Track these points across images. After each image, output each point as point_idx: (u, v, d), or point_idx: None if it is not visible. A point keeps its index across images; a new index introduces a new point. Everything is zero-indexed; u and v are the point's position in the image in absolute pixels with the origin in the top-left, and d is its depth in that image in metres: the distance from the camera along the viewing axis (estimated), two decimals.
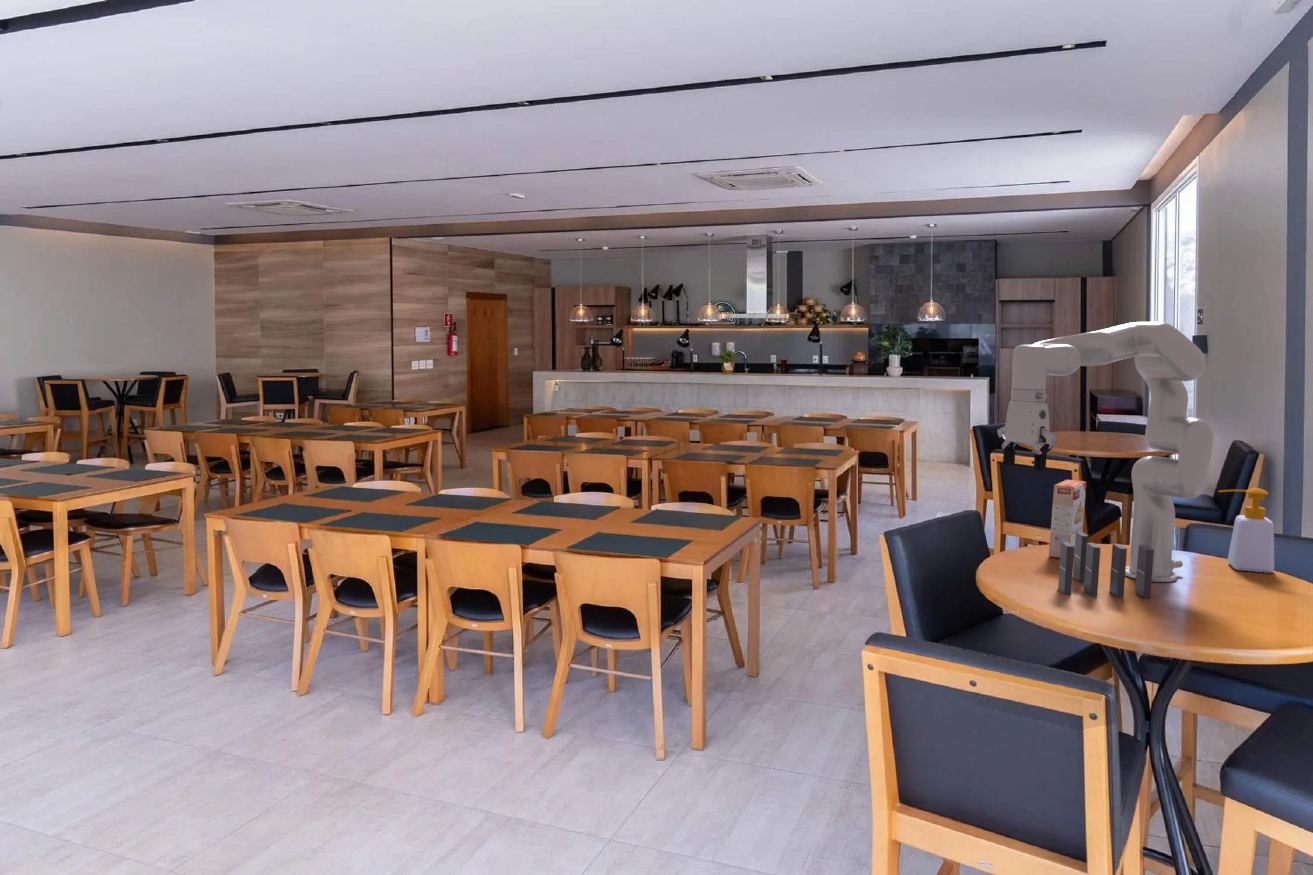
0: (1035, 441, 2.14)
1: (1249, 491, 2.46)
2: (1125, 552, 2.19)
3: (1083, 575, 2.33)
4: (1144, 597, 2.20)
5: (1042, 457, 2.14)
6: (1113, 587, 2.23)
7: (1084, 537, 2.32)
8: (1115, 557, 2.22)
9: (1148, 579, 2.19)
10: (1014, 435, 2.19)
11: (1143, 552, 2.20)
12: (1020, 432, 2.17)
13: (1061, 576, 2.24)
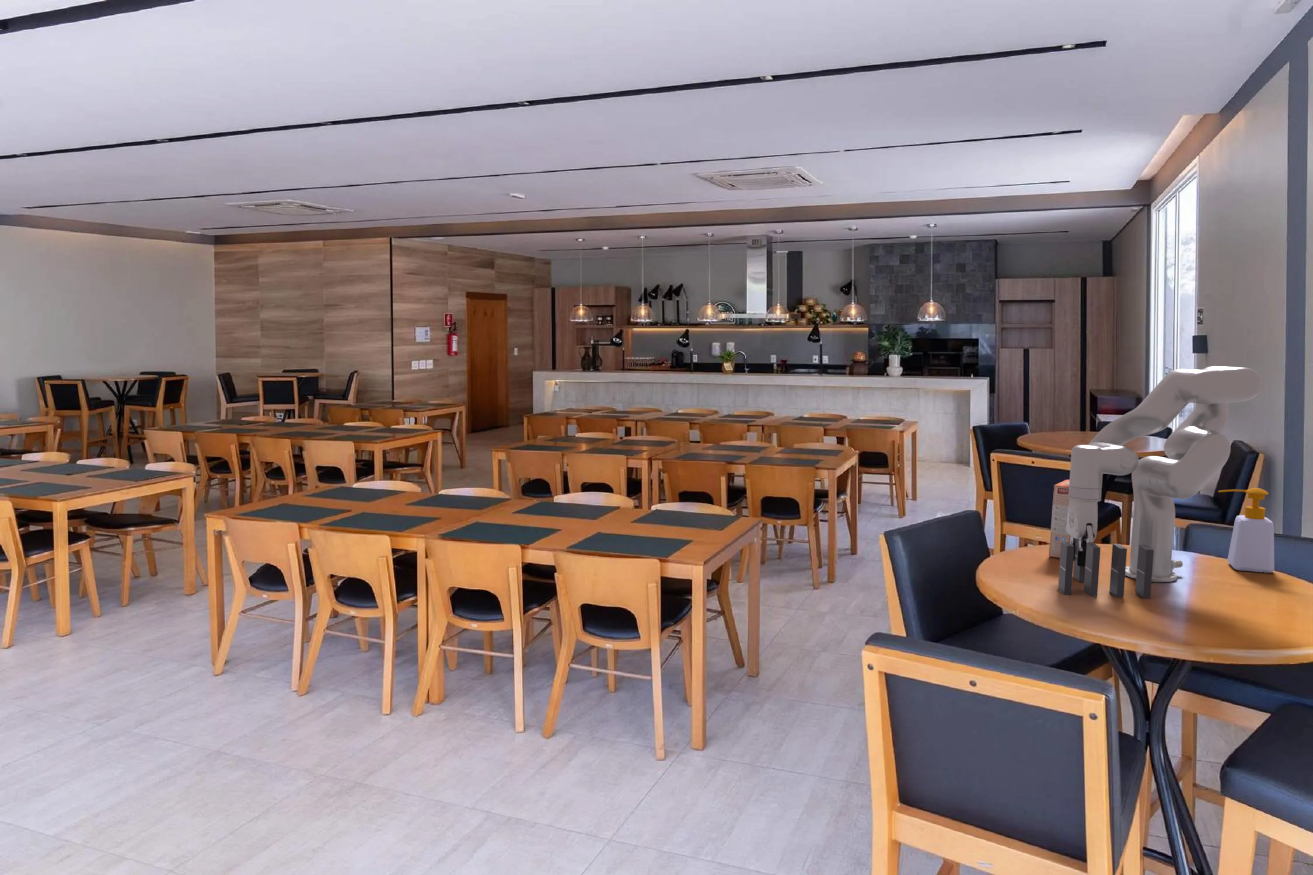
0: None
1: (1249, 491, 2.46)
2: (1125, 552, 2.19)
3: (1083, 575, 2.33)
4: (1144, 597, 2.20)
5: None
6: (1113, 587, 2.23)
7: (1084, 537, 2.32)
8: (1115, 557, 2.22)
9: (1148, 579, 2.19)
10: None
11: (1143, 552, 2.20)
12: None
13: (1061, 576, 2.24)
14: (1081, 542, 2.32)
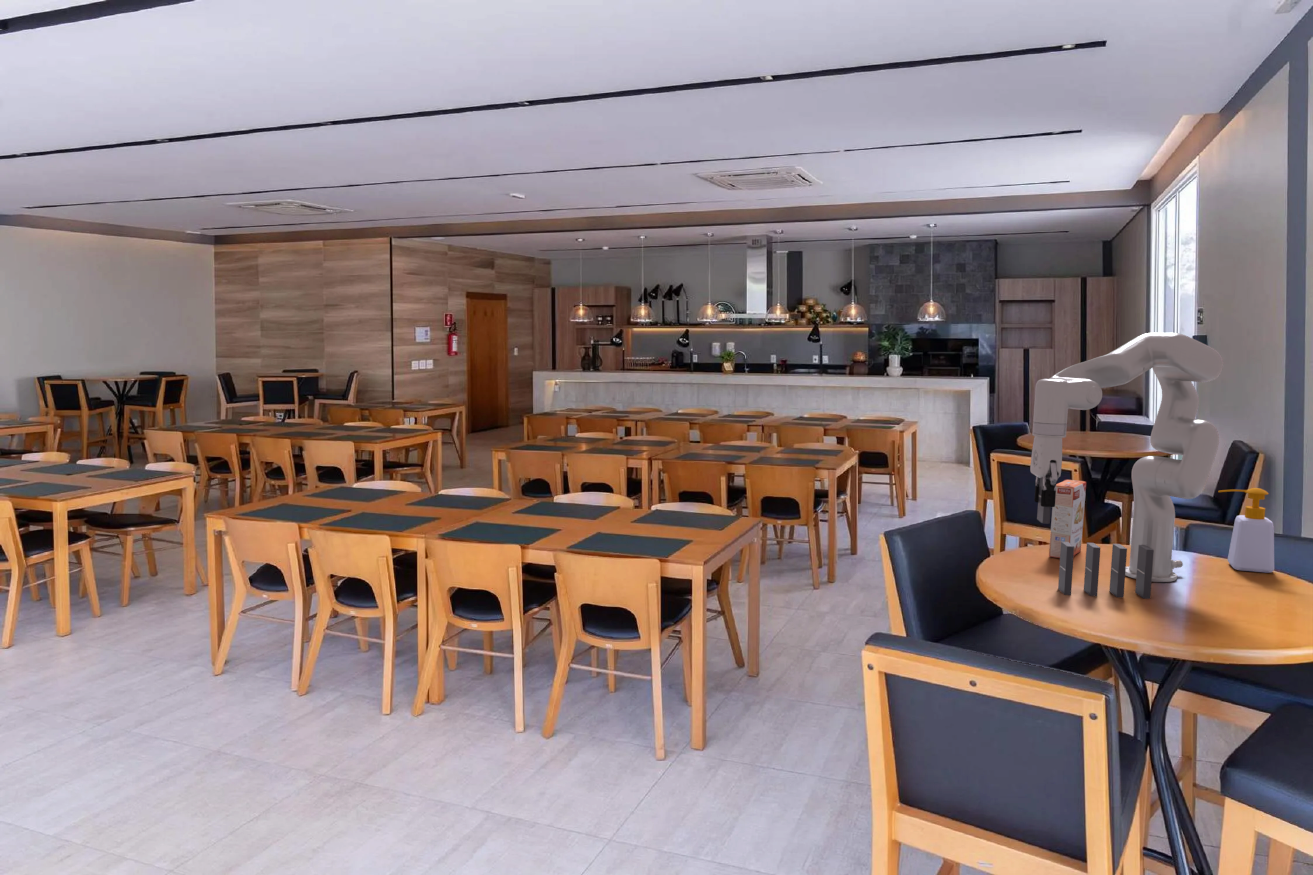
0: None
1: (1249, 491, 2.46)
2: (1125, 552, 2.19)
3: (1047, 516, 2.21)
4: (1144, 597, 2.20)
5: None
6: (1113, 587, 2.23)
7: (1048, 475, 2.20)
8: (1115, 557, 2.22)
9: (1148, 579, 2.19)
10: None
11: (1143, 552, 2.20)
12: None
13: (1061, 576, 2.24)
14: (1045, 481, 2.19)
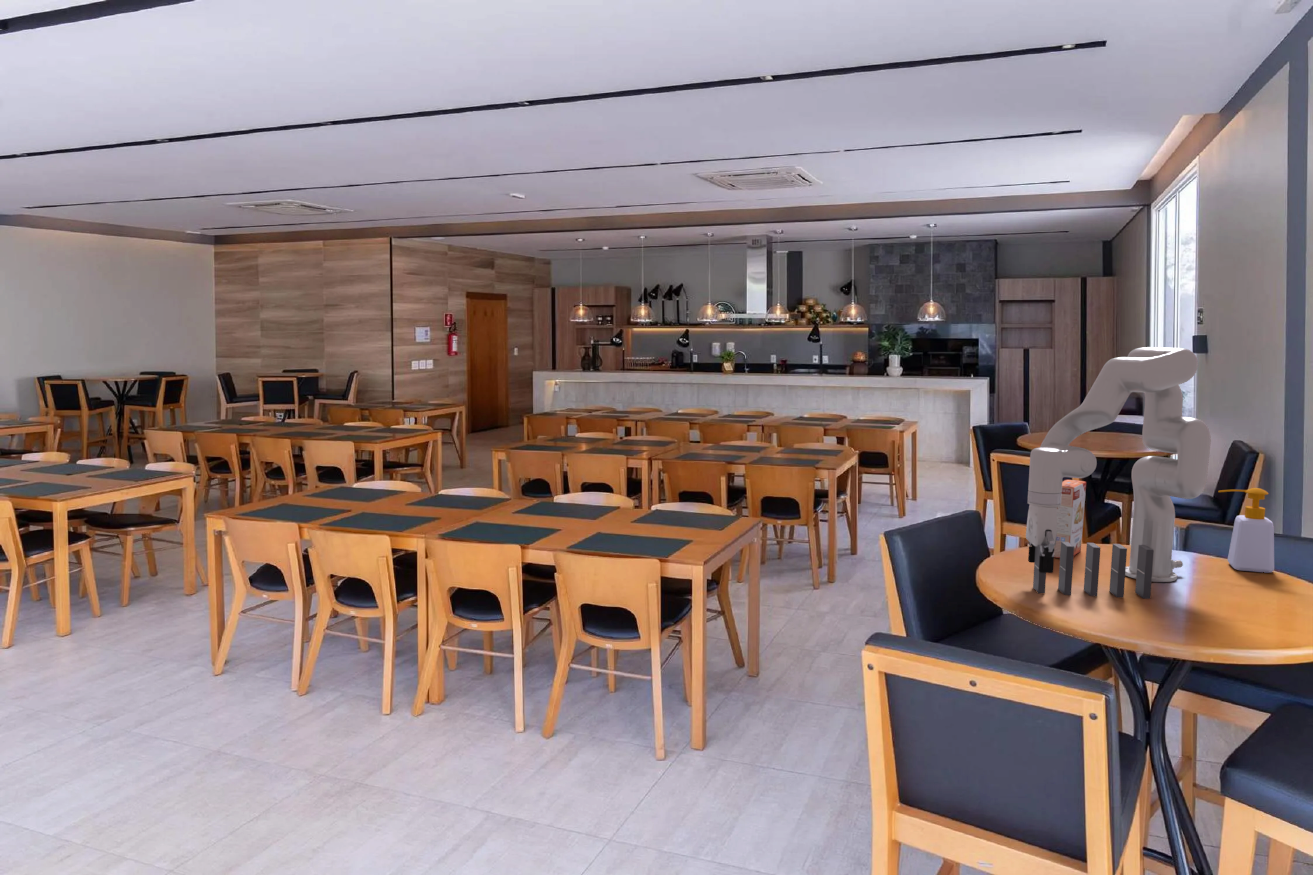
0: None
1: (1249, 491, 2.46)
2: (1125, 552, 2.19)
3: (1042, 586, 2.23)
4: (1144, 597, 2.20)
5: None
6: (1113, 587, 2.23)
7: None
8: (1115, 557, 2.22)
9: (1148, 579, 2.19)
10: None
11: (1143, 552, 2.20)
12: None
13: (1061, 576, 2.24)
14: (1042, 547, 2.19)
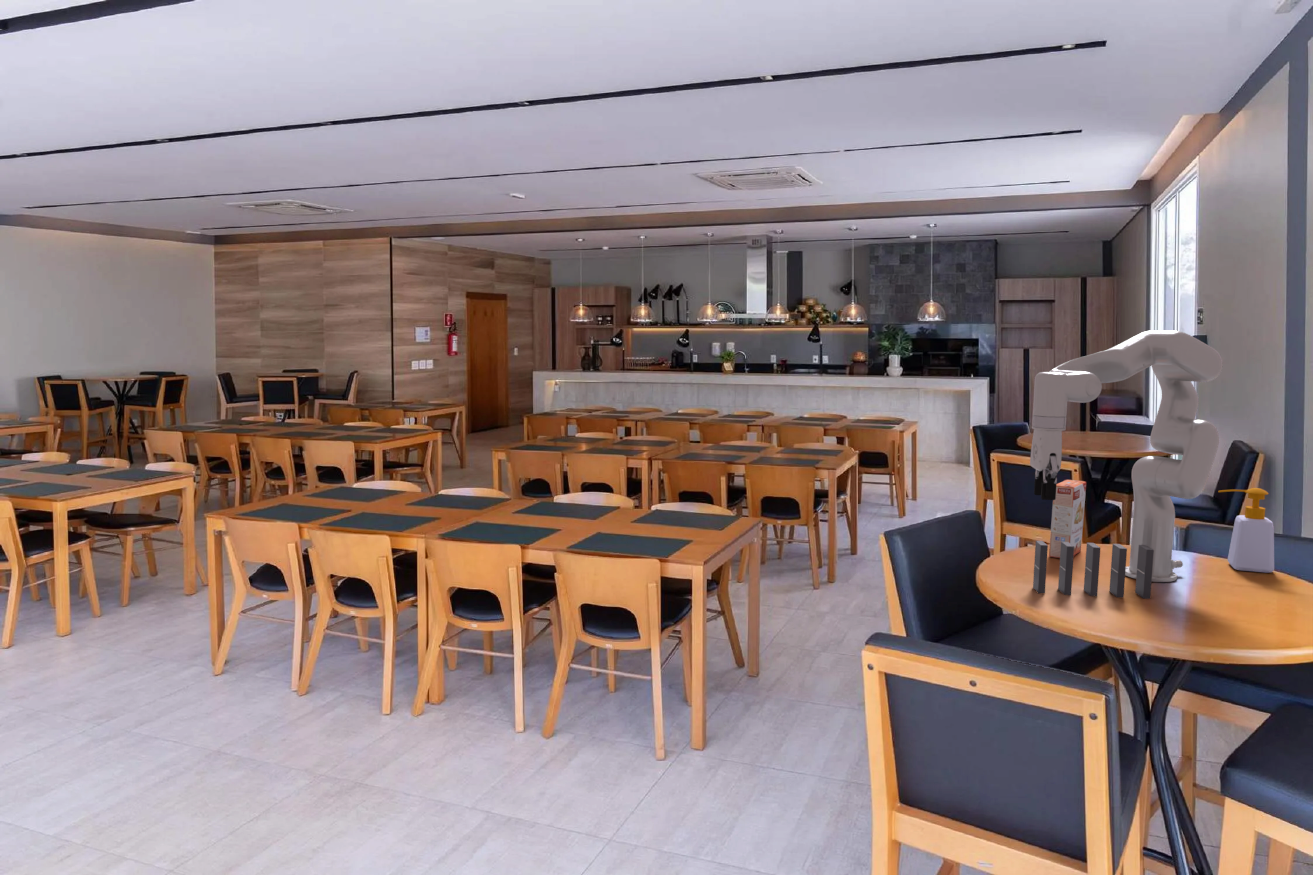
0: None
1: (1249, 491, 2.46)
2: (1125, 552, 2.19)
3: (1042, 586, 2.23)
4: (1144, 597, 2.20)
5: None
6: (1113, 587, 2.23)
7: (1043, 546, 2.22)
8: (1115, 557, 2.22)
9: (1148, 579, 2.19)
10: None
11: (1143, 552, 2.20)
12: None
13: (1061, 576, 2.24)
14: (1045, 474, 2.18)
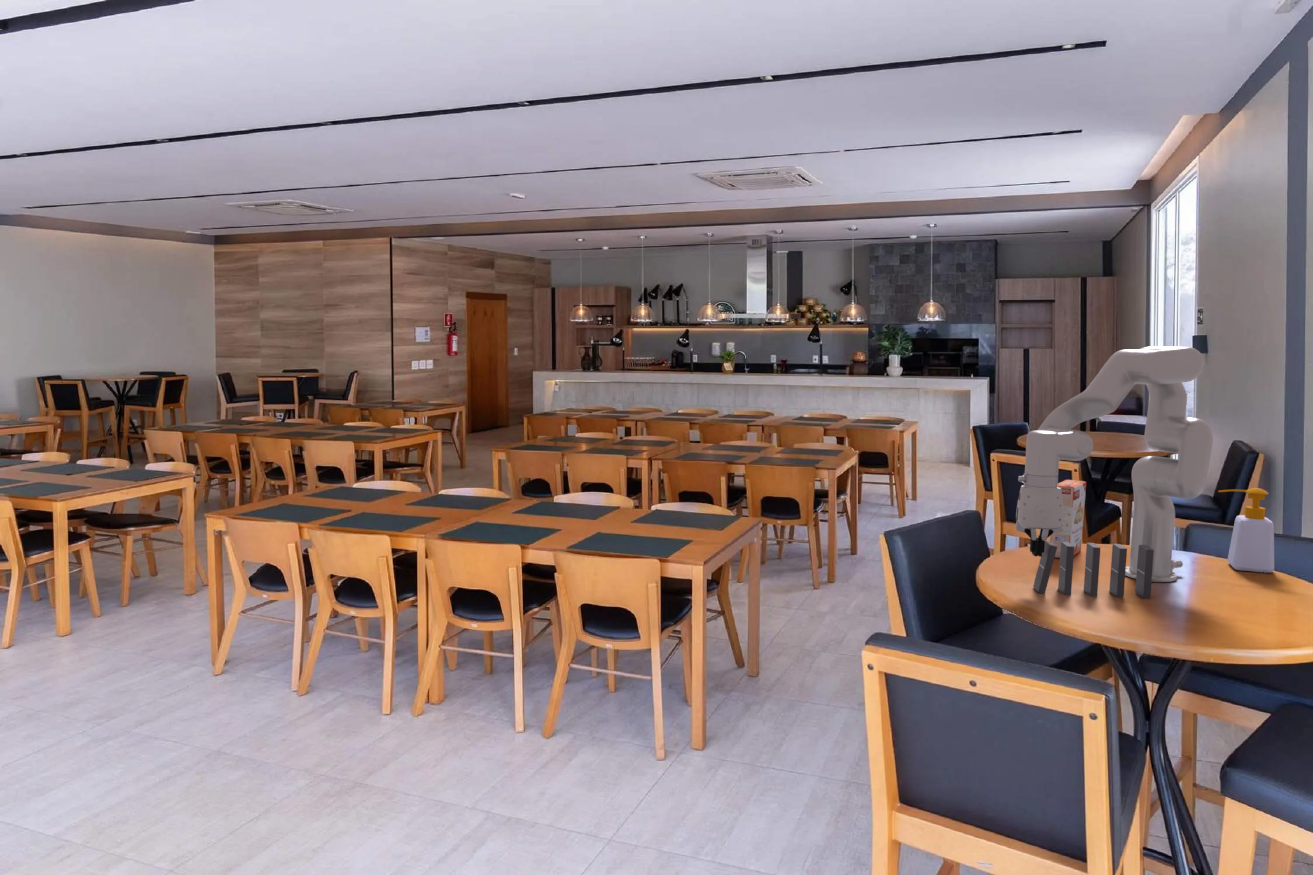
0: None
1: (1249, 491, 2.46)
2: (1125, 552, 2.19)
3: (1043, 586, 2.23)
4: (1144, 597, 2.20)
5: (1030, 541, 2.25)
6: (1113, 587, 2.23)
7: (1052, 547, 2.21)
8: (1115, 557, 2.22)
9: (1148, 579, 2.19)
10: None
11: (1143, 552, 2.20)
12: None
13: (1061, 576, 2.24)
14: (1047, 532, 2.22)
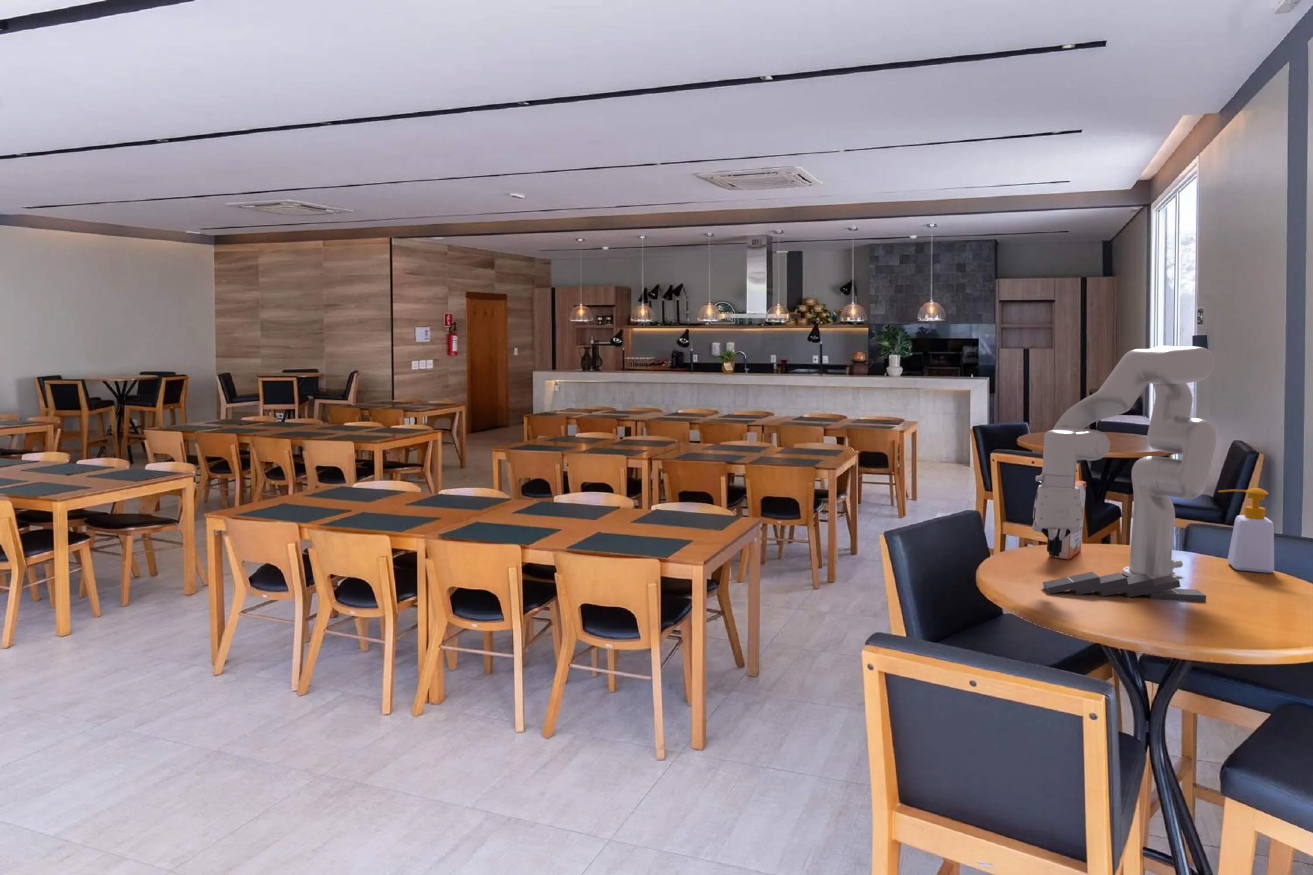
0: None
1: (1249, 491, 2.46)
2: (1176, 586, 2.18)
3: (1056, 589, 2.22)
4: (1152, 594, 2.19)
5: (1048, 541, 2.24)
6: None
7: (1098, 579, 2.21)
8: (1161, 580, 2.21)
9: (1172, 597, 2.18)
10: None
11: (1198, 593, 2.19)
12: None
13: None
14: None
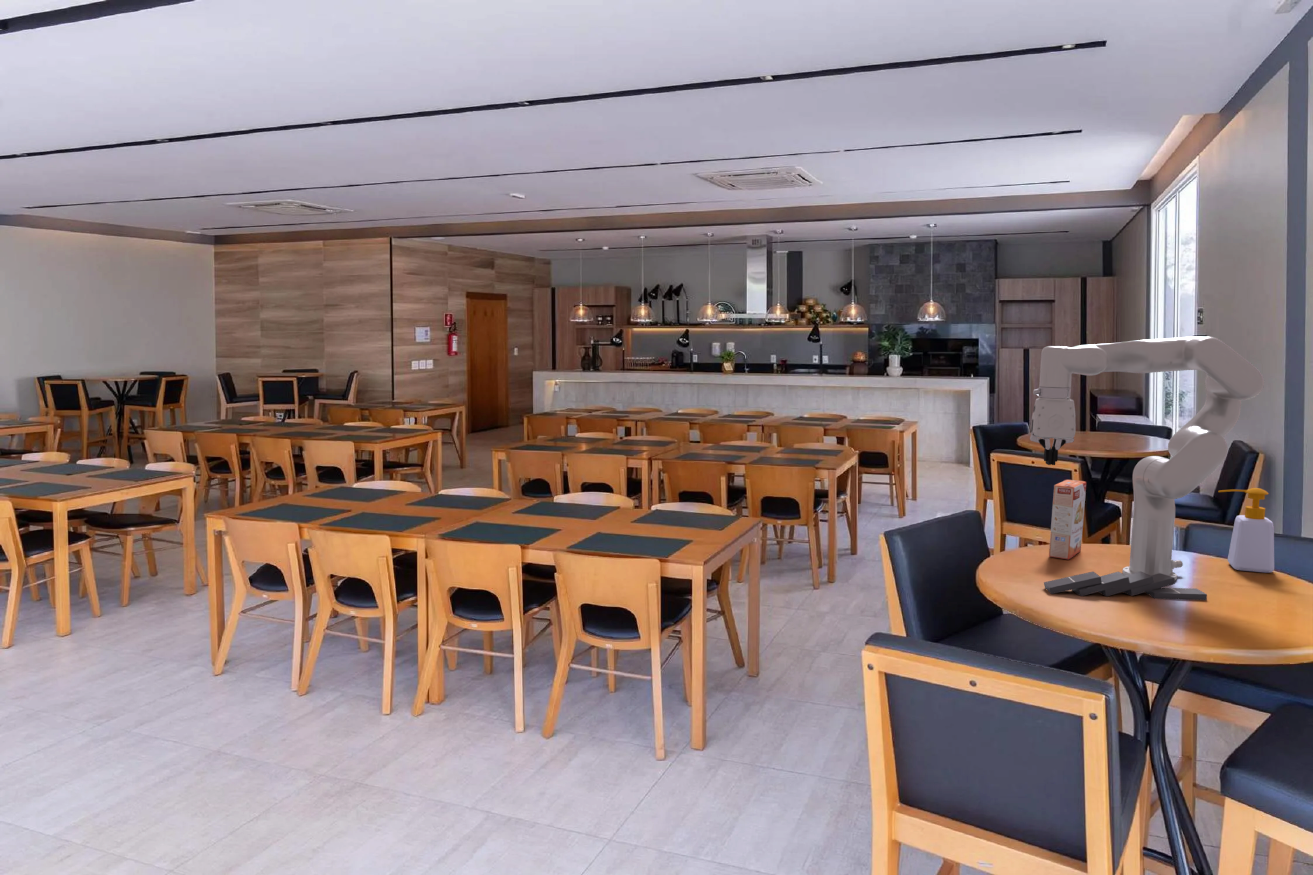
0: None
1: (1249, 491, 2.46)
2: (1171, 583, 2.23)
3: (1057, 590, 2.22)
4: (1155, 594, 2.20)
5: (1044, 451, 2.39)
6: None
7: (1099, 579, 2.21)
8: (1155, 577, 2.25)
9: (1174, 597, 2.19)
10: None
11: (1198, 592, 2.20)
12: None
13: None
14: (1060, 442, 2.37)
